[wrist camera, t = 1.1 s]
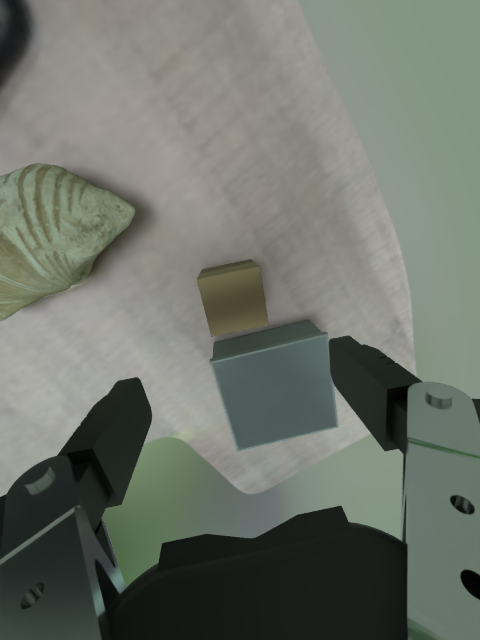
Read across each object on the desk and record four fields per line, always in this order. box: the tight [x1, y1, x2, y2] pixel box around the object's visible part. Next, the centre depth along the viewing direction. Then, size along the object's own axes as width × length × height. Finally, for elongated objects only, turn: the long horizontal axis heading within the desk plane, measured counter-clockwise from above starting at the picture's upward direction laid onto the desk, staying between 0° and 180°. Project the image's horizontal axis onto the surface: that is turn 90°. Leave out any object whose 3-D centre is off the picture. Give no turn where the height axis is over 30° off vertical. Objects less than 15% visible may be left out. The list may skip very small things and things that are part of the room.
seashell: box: [0, 163, 135, 321], centre depth 20 cm, size 14×9×10 cm
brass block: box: [197, 260, 269, 337], centre depth 23 cm, size 5×5×6 cm
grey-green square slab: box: [210, 320, 338, 452], centre depth 27 cm, size 11×11×5 cm
